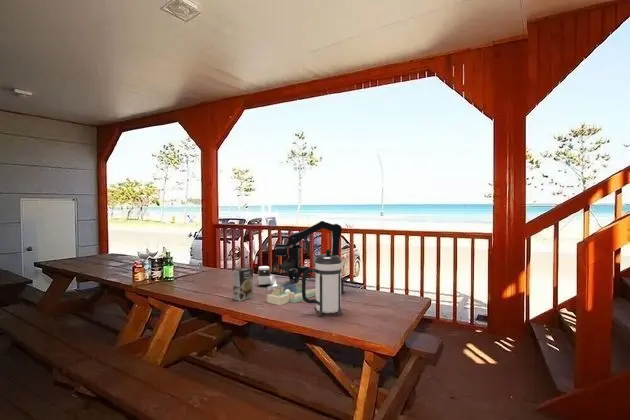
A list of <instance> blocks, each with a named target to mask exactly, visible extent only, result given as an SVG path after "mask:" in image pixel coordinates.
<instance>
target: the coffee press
mask: <svg viewBox="0 0 630 420" xmlns="http://www.w3.org/2000/svg"><path fill="white" fill-rule="evenodd" d="M314 264H315V268H309V269H308V270H306V271H305V272H304V273H302V274H301V283H302V298H303V300H302V301H304V302H305V303H307V304H315V307H314V311H317V312H318V317H321V318H323V316H324V315H325V314H334V313H337V315H338V316H339V317H341V316H343V314H344V313H343V311H342V309H341V308H342V294H341V277H342V266H345V263H344V262H343V261H342V258H341V257H340V256H339V254H338V255H334V254H332V250H331V249H326V250H325V253H322V254H319V255H317V256H316V257H315V259H314ZM312 273H315V288H316V295H315V298H314V299H309V298H306V289H307V288H306V287H307V286H306V285H307V284H306V283H307V280H306V279H307V276H308V275H309V274H312Z"/></svg>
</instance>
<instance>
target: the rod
mask: <svg viewBox="0 0 630 420" xmlns="http://www.w3.org/2000/svg"><path fill="white" fill-rule="evenodd" d="M298 282H300V279H299V280H298ZM298 282H297V283H298ZM297 283H295V277H293V279H289V280H288V281H284V282H281V283H276V285H273V286H272V285H269V286H266V288H265V289H266V291H271V290H273V289H278V288H281V287H283V288H284V291H285V290H286V289H289V290H290V292H293V293H297Z"/></svg>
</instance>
